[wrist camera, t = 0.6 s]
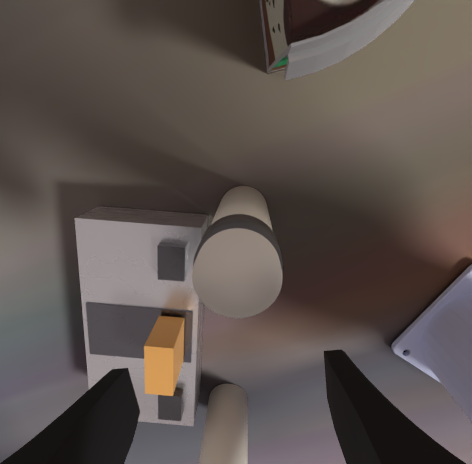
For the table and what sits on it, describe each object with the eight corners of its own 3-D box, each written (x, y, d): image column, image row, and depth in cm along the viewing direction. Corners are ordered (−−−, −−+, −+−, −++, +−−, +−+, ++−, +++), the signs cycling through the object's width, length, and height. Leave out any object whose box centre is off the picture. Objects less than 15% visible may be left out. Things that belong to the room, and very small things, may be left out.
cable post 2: (257, 395, 24) (262, 564, 15) (233, 422, 25) (224, 598, 16) (222, 375, 24) (204, 536, 14) (199, 402, 25) (168, 571, 15)
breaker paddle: (184, 317, 19) (173, 348, 16) (183, 360, 20) (173, 396, 17) (159, 315, 19) (144, 345, 16) (159, 358, 20) (144, 393, 17)
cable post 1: (278, 203, 20) (305, 267, 10) (249, 243, 21) (249, 336, 11) (236, 174, 19) (223, 213, 10) (208, 215, 20) (171, 288, 11)
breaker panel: (208, 214, 20) (199, 231, 17) (200, 391, 24) (192, 434, 21) (99, 206, 20) (68, 220, 17) (109, 383, 25) (86, 424, 21)
